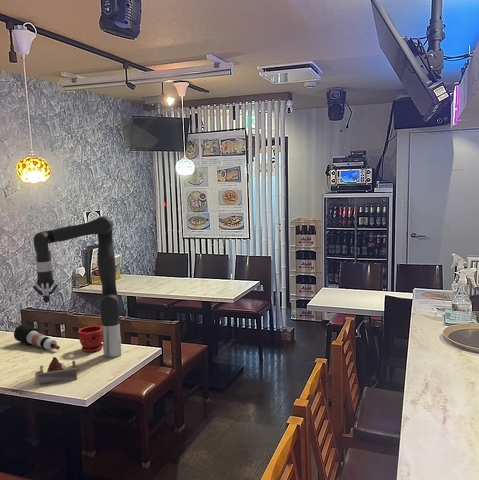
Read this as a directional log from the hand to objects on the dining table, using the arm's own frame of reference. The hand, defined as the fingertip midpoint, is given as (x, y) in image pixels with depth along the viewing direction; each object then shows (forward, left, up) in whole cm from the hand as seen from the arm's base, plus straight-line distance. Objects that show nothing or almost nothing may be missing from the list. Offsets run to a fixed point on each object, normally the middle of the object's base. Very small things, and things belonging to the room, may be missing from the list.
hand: (46, 302), depth 248 cm
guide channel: (-8, +24, -31) cm, 40 cm away
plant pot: (-20, -10, -31) cm, 38 cm away
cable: (+10, -23, -31) cm, 40 cm away
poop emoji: (-7, +25, -31) cm, 41 cm away
